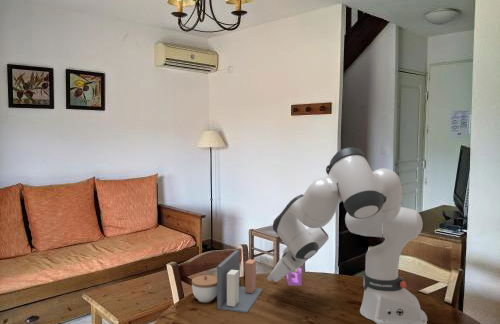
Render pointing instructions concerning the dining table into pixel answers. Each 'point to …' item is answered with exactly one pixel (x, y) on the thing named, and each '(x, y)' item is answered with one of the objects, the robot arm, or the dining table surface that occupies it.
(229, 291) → the white rectangular block
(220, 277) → the gray bookend
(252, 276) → the salmon pink block
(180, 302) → the dining table surface
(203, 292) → the lidded jar
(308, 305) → the dining table surface
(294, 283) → the bracket
